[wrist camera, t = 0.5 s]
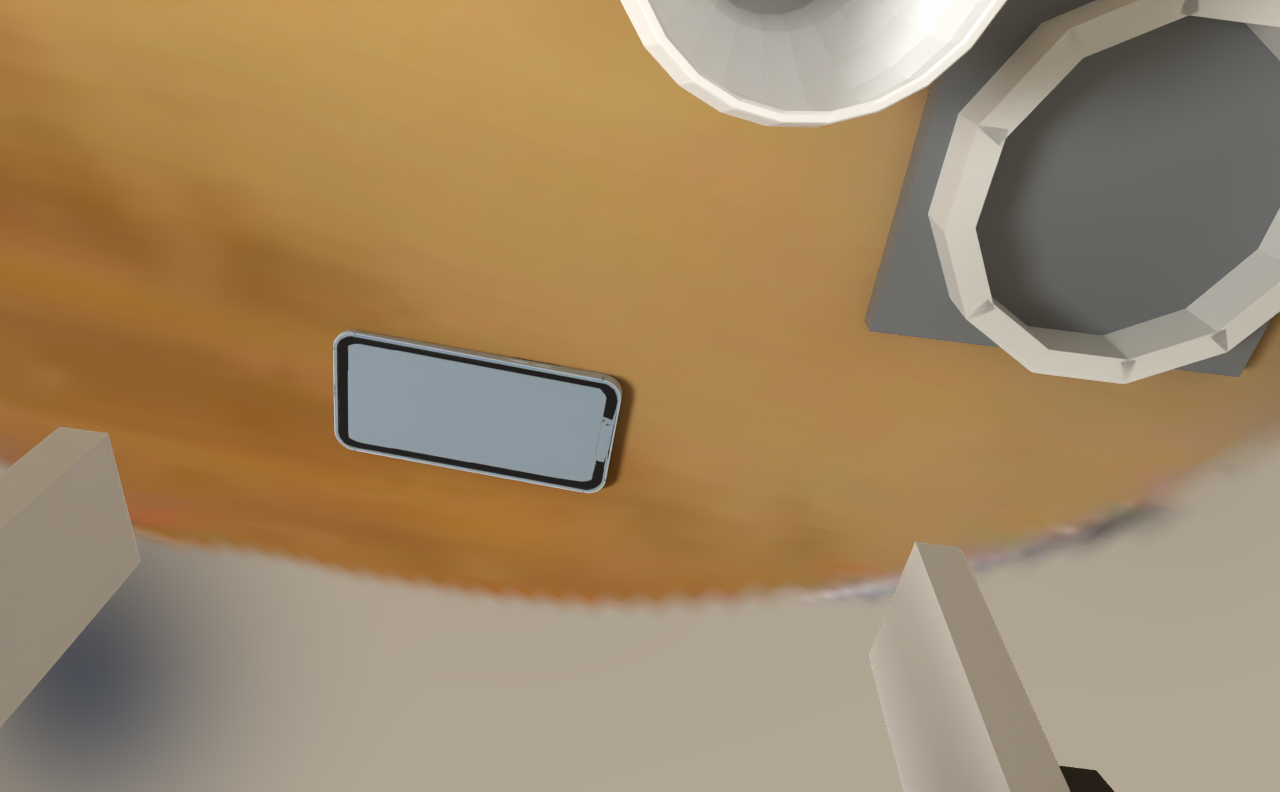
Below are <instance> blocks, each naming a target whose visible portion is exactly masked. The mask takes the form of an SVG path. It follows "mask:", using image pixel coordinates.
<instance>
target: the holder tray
mask: <svg viewBox="0 0 1280 792" xmlns="http://www.w3.org/2000/svg"><path fill="white" fill-rule="evenodd" d="M1278 312H1280V0H1007V1H1006V3H1005V4H1004V5H1003V7H1002V8H1001V9H1000V11H999V12H998V13H997V15H996V16H995V17H994V19H993V20H992V21H991V23H990V24H989V25H988V27H987V28H986V30H985V31H984V32H983V34H982V35H981V36H980V38H979V39H978V40H977V42H976V43H975V44H974V46H973V47H972V48H971V49H970V50H969V51H968V52H967V53H966V54H964V55H963V56H962V57H961V58H960V59H959V60H957V61H956V62H955V63H954V64H953V65H952V66H951V67H949V68H948V69H947V70H946V71H945V72H944V73H943V74H941V75H940V76H939V77H938V78H937V79H936V80H934V81H933V82H932V84H931V88H930V91H929V95H928V98H927V102H926V105H925V109H924V113H923V116H922V120H921V123H920V127H919V130H918V134H917V137H916V141H915V144H914V148H913V151H912V155H911V159H910V162H909V166H908V169H907V173H906V176H905V180H904V183H903V187H902V190H901V194H900V197H899V201H898V205H897V208H896V212H895V215H894V219H893V222H892V226H891V229H890V233H889V236H888V240H887V243H886V247H885V251H884V254H883V258H882V261H881V265H880V268H879V272H878V275H877V279H876V282H875V286H874V289H873V293H872V297H871V300H870V304H869V307H868V311H867V314H866V318H865V322H866V324H867V326H868V329H869V331H873V332H881V333H889V334H897V335H905V336H913V337H921V338H929V339H937V340H945V341H953V342H961V343H969V344H977V345H985V346H993V347H1001V348H1002V349H1004V350H1005V351H1006V352H1007V353H1008V354H1010V355H1011V356H1012V357H1013V358H1015V359H1016V360H1017V361H1018V362H1020V363H1021V364H1022V365H1023V366H1025V367H1026V368H1027V369H1028V370H1029V371H1031V372H1032V373H1040V374H1048V375H1056V376H1064V377H1072V378H1080V379H1088V380H1096V381H1104V382H1112V383H1120V384H1126V383H1130V382H1133V381H1136V380H1139V379H1142V378H1146V377H1149V376H1152V375H1155V374H1159V373H1162V372H1165V371H1168V370H1172V369H1178V370H1186V371H1194V372H1202V373H1210V374H1218V375H1226V376H1234V377H1239V376H1240V374H1241V373H1242V371H1243V369H1244V367H1245V366H1246V364H1247V362H1248V360H1249V359H1250V357H1251V355H1252V353H1253V351H1254V350H1255V348H1256V346H1257V344H1258V343H1259V341H1260V339H1261V337H1262V335H1263V334H1264V332H1265V330H1266V328H1267V327H1268V325H1269V323H1270V321H1271V320H1272V318H1273V316H1275V315H1276V314H1277V313H1278Z"/></svg>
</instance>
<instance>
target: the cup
mask: <svg viewBox="0 0 1280 792" xmlns="http://www.w3.org/2000/svg"><path fill="white" fill-rule="evenodd" d="M1006 1H1007V0H621V2H622V4H623V6H624V8H625V10H626V12H627V14H628V16H629V18H630V20H631V22H632V24H633V26H634V28H635V30H636V31H637V33H638V35H639V37H640V39H641V41H642V43H643V45H644V47H645V48H646V49H647V50H648V51H649V52H650V54H651V55H652V56H653V57H654V58H655V59H656V60H657V61H658V63H659V64H660V65H661V66H662V67H663V68H664V69H665V70H666V71H667V73H668V74H669V75H670V76H671V77H672V78H673V79H674V80H675V81H676V83H677V84H678V85H679V86H681V87H682V88H684V89H685V90H687V91H688V92H690V93H692V94H693V95H695V96H696V97H698V98H699V99H701V100H702V101H704V102H706V103H707V104H709V105H710V106H712V107H713V108H715V109H716V110H718V111H720V112H722V113H725V114H728V115H732V116H735V117H738V118H741V119H745V120H748V121H751V122H755V123H758V124H761V125H765V126H780V127H819V126H824V125H829V124H833V123H837V122H841V121H845V120H849V119H853V118H857V117H861V116H865V115H869V114H873V113H877V112H880V111H882V110H884V109H886V108H888V107H890V106H892V105H894V104H895V103H897V102H899V101H901V100H903V99H905V98H907V97H909V96H911V95H912V94H914V93H916V92H918V91H920V90H922V89H924V88H926V87H927V86H929V85H930V84H931V83H932V82H933V81H934V80H936V79H937V78H938V77H939V76H940V75H941V74H943V73H944V72H945V71H946V70H947V69H948V68H949V67H951V66H952V65H953V64H954V63H955V62H956V61H957V60H959V59H960V58H961V57H962V56H963V55H964V54H966V53H967V52H968V51H969V50H970V49H971V48H972V47H973V46H974V44H975V43H976V42H977V40H978V39H979V38H980V36H981V35H982V34H983V32H984V31H985V30H986V28H987V27H988V25H989V24H990V23H991V21H992V20H993V19H994V17H995V16H996V15H997V13H998V12H999V11H1000V9H1001V8H1002V7H1003V5H1004V4H1005V3H1006Z"/></svg>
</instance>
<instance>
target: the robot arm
mask: <svg viewBox="0 0 1280 792" xmlns="http://www.w3.org/2000/svg"><path fill="white" fill-rule="evenodd" d="M140 562H141V560H140V556H139V552H138V548H137V544H136V540H135V536H134V532H133V528H132V524H131V520H130V516H129V513H128V509H127V505H126V501H125V497H124V493H123V489H122V485H121V481H120V477H119V473H118V469H117V465H116V461H115V457H114V454H113V450H112V446H111V442H110V438H109V434H108V433H103V432H96V431H88V430H81V429H74V428H66V427H59V428H57V429H56V430H55V431H54V432H52V433H51V434H50V435H49V436H47V437H46V438H45V439H44V440H43V441H41V442H40V443H39V444H38V445H36V446H35V447H34V448H33V449H31V450H30V451H29V452H28V453H26V454H25V455H24V456H23V457H22V458H20V459H19V460H18V461H17V462H15V463H14V464H13V465H12V466H10V467H9V468H8V469H7V470H5V471H4V472H3V473H2V474H1V475H0V728H1V726H2V725H3V724H4V723H5V722H6V720H7V719H8V718H9V717H10V716H11V715H12V713H13V712H14V711H15V710H16V709H17V707H18V706H19V705H20V704H21V703H22V702H23V700H24V699H25V698H26V697H27V696H28V694H29V693H30V692H31V691H32V690H33V689H34V687H35V686H36V685H37V684H38V683H39V681H40V680H41V679H42V678H43V677H44V676H45V674H46V673H47V672H48V671H49V670H50V668H51V667H52V666H53V665H54V664H55V663H56V661H57V660H58V659H59V658H60V656H61V655H62V654H63V653H64V652H65V651H66V650H67V648H68V647H69V646H70V645H71V644H72V642H73V641H74V640H75V639H76V638H77V636H78V635H79V634H80V633H81V632H82V631H83V629H84V628H85V627H86V626H87V625H88V623H89V622H90V621H91V620H92V619H93V618H94V616H95V615H96V614H97V613H98V612H99V611H100V609H101V608H102V607H103V606H104V605H105V603H106V602H107V601H108V600H109V599H110V598H111V596H112V595H113V594H114V593H115V592H116V590H117V589H118V588H119V587H120V585H121V584H122V583H123V582H124V581H125V580H126V579H127V577H128V576H129V575H130V574H131V572H133V570H134V569H135V568H136V567H137V566H138V564H139V563H140ZM869 660H870V664H871V668H872V672H873V676H874V680H875V684H876V688H877V691H878V695H879V699H880V703H881V707H882V711H883V715H884V719H885V723H886V727H887V731H888V735H889V738H890V742H891V746H892V750H893V754H894V758H895V762H896V766H897V770H898V774H899V778H900V781H901V785H902V789H903V792H1114V791H1113V789H1112V788H1111V787H1110V786H1109V785H1108V784H1107V783H1106V781H1105V780H1104V779H1103V778H1102V777H1101V776H1100V774H1099V773H1098V772H1097V771H1096V770H1089V769H1081V768H1073V767H1065V766H1059V765H1058V763H1057V761H1056V759H1055V756H1054V754H1053V752H1052V750H1051V747H1050V745H1049V743H1048V741H1047V738H1046V736H1045V734H1044V732H1043V730H1042V727H1041V725H1040V723H1039V721H1038V718H1037V716H1036V714H1035V712H1034V710H1033V707H1032V705H1031V703H1030V700H1029V698H1028V696H1027V694H1026V692H1025V689H1024V687H1023V685H1022V683H1021V680H1020V678H1019V676H1018V674H1017V671H1016V669H1015V667H1014V665H1013V662H1012V660H1011V658H1010V656H1009V654H1008V651H1007V649H1006V648H1005V645H1004V643H1003V640H1002V638H1001V636H1000V633H999V631H998V629H997V627H996V625H995V622H994V620H993V618H992V616H991V613H990V611H989V609H988V607H987V605H986V602H985V600H984V598H983V596H982V593H981V591H980V589H979V587H978V584H977V582H976V580H975V578H974V575H973V573H972V571H971V569H970V567H969V564H968V562H967V560H966V558H965V555H964V553H963V551H962V549H961V548H960V547H952V546H945V545H937V544H930V543H923V542H915V544H914V546H913V549H912V551H911V554H910V556H909V558H908V561H907V563H906V566H905V568H904V571H903V573H902V575H901V578H900V580H899V583H898V585H897V588H896V590H895V592H894V595H893V597H892V600H891V602H890V605H889V607H888V609H887V612H886V614H885V617H884V619H883V622H882V624H881V626H880V629H879V631H878V634H877V636H876V639H875V641H874V643H873V646H872V648H871V651H870V653H869Z"/></svg>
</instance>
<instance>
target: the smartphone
mask: <svg viewBox="0 0 1280 792" xmlns="http://www.w3.org/2000/svg"><path fill="white" fill-rule="evenodd" d="M333 371H334V427H335V435H336V438H337V440H338V441H339V442H340V443H341V444H342V445H343V446H345V447H346V448H348V449H351V450H355V451H360V452H366V453H371V454H376V455H382V456H387V457H393V458H398V459H404V460H409V461H414V462H420V463H425V464H431V465H436V466H442V467H447V468H452V469H458V470H463V471H469V472H474V473H480V474H485V475H490V476H496V477H501V478H507V479H512V480H517V481H523V482H528V483H534V484H539V485H545V486H550V487H555V488H561V489H566V490H572V491H577V492H583V493H593V492H596V491H598V490H600V489H601V488H602V487H603V486H604V484H605V482H606V477H607V472H608V466H609V461H610V456H611V451H612V446H613V440H614V435H615V430H616V425H617V419H618V414H619V409H620V404H621V398H622V388H621V386H620V384H619V382H618V381H617V380H616V379H615V378H613V377H611V376H609V375H606V374H601V373H596V372H590V371H585V370H579V369H573V368H568V367H562V366H556V365H551V364H545V363H539V362H534V361H528V360H522V359H517V358H511V357H505V356H500V355H494V354H488V353H483V352H477V351H471V350H465V349H460V348H454V347H448V346H443V345H437V344H431V343H426V342H420V341H414V340H409V339H403V338H397V337H392V336H386V335H380V334H375V333H369V332H363V331H358V330H347V331H344V332H342V333H341V334H339V335H338V337H337V338H336V339H335V341H334V344H333Z"/></svg>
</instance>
